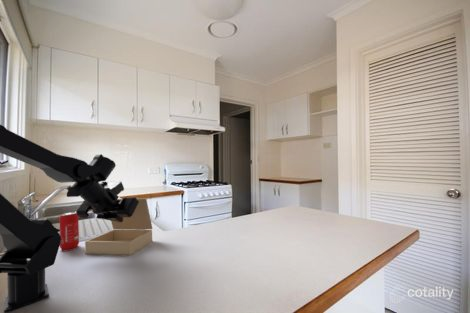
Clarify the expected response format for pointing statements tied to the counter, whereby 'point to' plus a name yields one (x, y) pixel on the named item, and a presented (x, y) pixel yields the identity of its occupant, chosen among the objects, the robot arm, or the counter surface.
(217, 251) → the counter surface
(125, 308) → the counter surface
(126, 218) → the mailer lid
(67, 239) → the beverage can
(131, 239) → the mailer box
